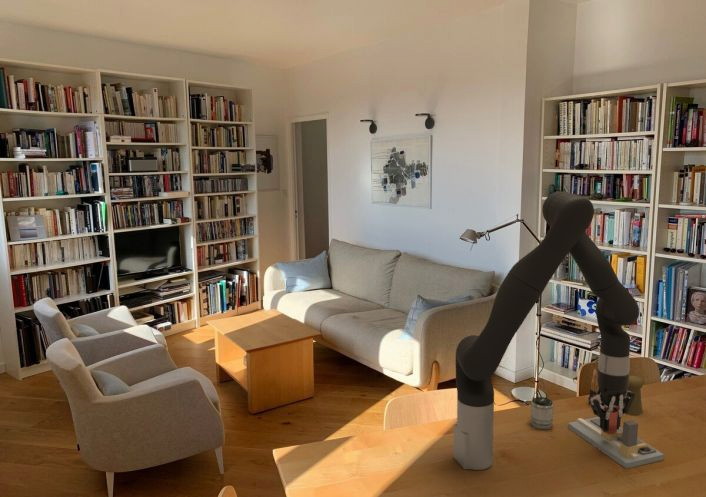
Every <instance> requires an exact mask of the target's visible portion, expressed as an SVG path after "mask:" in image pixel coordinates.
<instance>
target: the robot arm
mask: <svg viewBox="0 0 706 497" xmlns="http://www.w3.org/2000/svg"><path fill="white" fill-rule="evenodd" d="M541 210H542V211H541V212H542V217H543V218H544V220H545V222H546V223H547V224H548V226H549V227H550V228H549V230H548V231H547V233H546V234H545V236H544V238H543V239H542V241H541V242H539V243H538V245H537V246H536V247H535V248H534V249H532V250H531V251H530V252H528V253H527V254H526V255H525V256H523V257H521V258H520V259H519V260H518V261H517V262H516V263H515V264H513V266H512V267H511V269H509V271H508V273H507V275H506V276H505V277H504V280H502V283H501V284H500V286H499V287H498V290H497V292H496V294H495V295H496V296H495V298H494V301H493V304H492V308H491V311H490V314H489V318H488V320H487V322H486V325H485V326H484V327H483V329H482V331H481V332H480V334H479V335H475V334H474V335H468V336H465V337H464V338H463V339H461V340H460V341H459V343H458V345H457V347H456V350H455V386H456V395H457V397H456V400H457V401H456V402H457V403H456V411H457V412H456V422H457V423H455V424H454V425H453V459H454V460H455V462H457V463H458V464H459V465H460V466H461V468H463V470H474V471H479V470H480V471H483V470H487V469H489V468H490V467H491V466H492V465H493V458H494V452H493V451H494V420H495V419H494V418H495V416H494V412H495V411H494V410H495V391H494V386H493V385H494V384H493V380H492V375H494V374H495V372H496V371H497V369H498V367H500V363H501V361H502V360H503V358H504V356H505V353H506V352H507V350H508V347H509V345H510V343H511V342H512V340H513V338H514V336H515V335H516V333H517V332H518V331H519V329H520V328H521V326H522V324H523V323H524V321H525V320H526V318H527V316H528V315H529V314H530V313H531V310H532V309H533V307H535V305H536V303H537V302H538V300H539V298H540V297H541V295H542V294H543V292H544V291H545V289H546V287H547V285H548V283H549V282H550V280H551V279H552V277H553V276H554V274H555V273H556V272H557V270H558V269H559V267H560V265H561V264H562V263H563V260H565V258H566V257H567V255H568V254H569V255H571V257H572V259H573V260H574V262H575V264H576V265H577V267H578V269H579V272H581V274H582V276H583V278H584V281H585V282H586V284H587V285H588V287H589V290H590V291H591V293H592V294H593V295H594V296H595V297H597V298H598V300H597V301H596V305H595V316H596V321H597V326H598V330H599V331H598V332H599V334H600V345H599V355H598V360H597V361H598V363H597V373H598V376H597V383H598V386H599V389H598V392H597V395H596V396H594V397H591V396H590V397H588V399H587V400H588V403H589V402H590V404H589V406H590V407H591V410H592V414H593V415H594V416H596V417H599V418H600V428H601V429H602V430H603V431H605V432H608V431H609V416H610V412H611V411H612V409H614V410H616V411H617V412H618V418H617V430H618V429H619V427H620V426H621V420H622V417H623V415H624V414H625V415H628V414H627V413H628V411H629V408H630V406H631V404H632V401H633V399H634V397H635V394H634V393H632V392H631V391H628V390H627V388H628V385H629V376H630V367H631V365H630V364H631V360H630V353H631V352H630V351H631V349H630V348H631V335H630V334H629V333H628V332H626V330H624V329H623V328H622V326H631V325H634V324H635V323H636V322H637V321H638V319H639V318H640V308H639V304H638V302H637V300H636V299H635V298H634V296H633V295H632V293H630V292H629V290H628V289H627V288H626V287H625V285H624V284H622V283H621V281H620V280H619V278H618V276H617V274H616V272H615V270H614V267H612V266H613V265H612V263H611V262H610V261H609V259H608V258H607V256H606V255H605V254H604V253H603V252H602V251H601V249H600V248H599V247H598V246H597V245H596V243H595V242H594V240H592V238H591V237H590V235H589V234H588V233H587V230H588V228H589V227H590V225H591V223H592V221H593V219H594V216H595V207H594V205H593V203H592V201H591V200H590V199H588V198H586V197H585V196H582V195H578V194H575V193H572V192H568V191H562V190H561V191H554V192H553V193H551V194H549V195H548V196H547V197H546V198H545V199H544V201H543V204H542V207H541ZM624 404H626V405H625V408H623V406H624ZM607 406H608V407H607ZM604 411H605V413H604ZM620 428H621V427H620Z"/></svg>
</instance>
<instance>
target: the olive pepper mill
mask: <svg viewBox="0 0 706 497" xmlns="http://www.w3.org/2000/svg"><path fill="white" fill-rule="evenodd" d="M643 386H644V383H643V379H642V378H640V377H639V376H636V375H629V385H628V388H627V390H628V391H631V392H632V393H634V394H635V397H634V399H633V401H632V404H631V406H630V408H629V411H628V413H627V414H626V415H629V416H641V415H642V414H643V403H642V391H641V389H642V388H643ZM625 405H626V404H624V406H623V408H625Z"/></svg>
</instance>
